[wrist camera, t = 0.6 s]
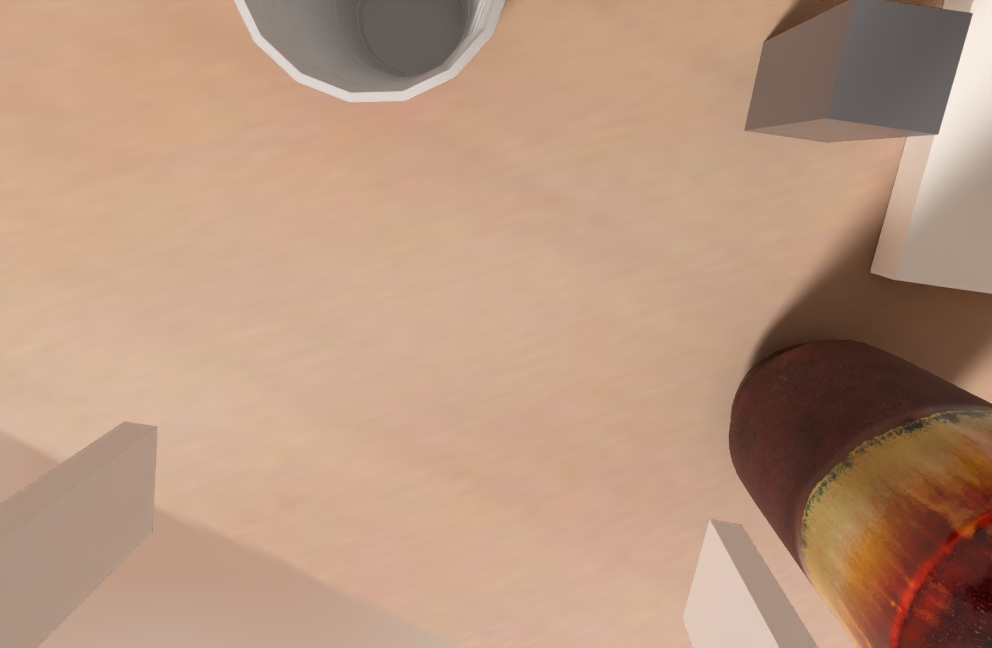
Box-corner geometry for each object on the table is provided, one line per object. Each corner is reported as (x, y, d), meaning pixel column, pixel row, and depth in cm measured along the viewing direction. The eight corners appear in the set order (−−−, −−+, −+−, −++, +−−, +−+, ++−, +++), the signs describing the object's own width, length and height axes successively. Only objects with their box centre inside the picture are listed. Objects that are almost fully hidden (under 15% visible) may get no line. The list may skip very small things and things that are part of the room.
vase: (937, 408, 40) (1660, 828, 15) (799, 530, 42) (1224, 1080, 17) (811, 287, 39) (1374, 523, 13) (675, 420, 41) (935, 841, 15)
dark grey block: (763, 41, 36) (856, -4, 26) (849, 54, 36) (973, 13, 26) (744, 130, 37) (826, 118, 27) (827, 142, 37) (938, 134, 27)
